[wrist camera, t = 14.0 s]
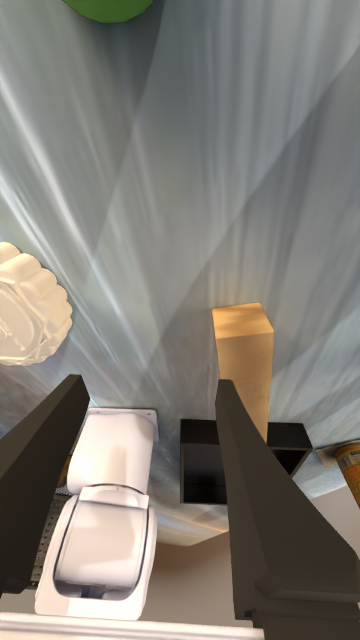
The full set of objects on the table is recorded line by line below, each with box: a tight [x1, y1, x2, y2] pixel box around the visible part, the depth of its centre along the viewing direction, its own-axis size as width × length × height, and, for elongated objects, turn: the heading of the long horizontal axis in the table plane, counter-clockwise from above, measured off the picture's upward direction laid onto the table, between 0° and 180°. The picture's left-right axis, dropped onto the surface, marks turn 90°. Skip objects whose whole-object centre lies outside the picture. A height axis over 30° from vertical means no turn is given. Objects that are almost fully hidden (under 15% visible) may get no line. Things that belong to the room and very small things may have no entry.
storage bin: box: [26, 494, 105, 590], centre depth 52 cm, size 29×19×13 cm
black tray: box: [180, 419, 313, 506], centre depth 37 cm, size 17×23×3 cm
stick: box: [212, 302, 274, 442], centre depth 24 cm, size 4×18×4 cm, turn 10°
